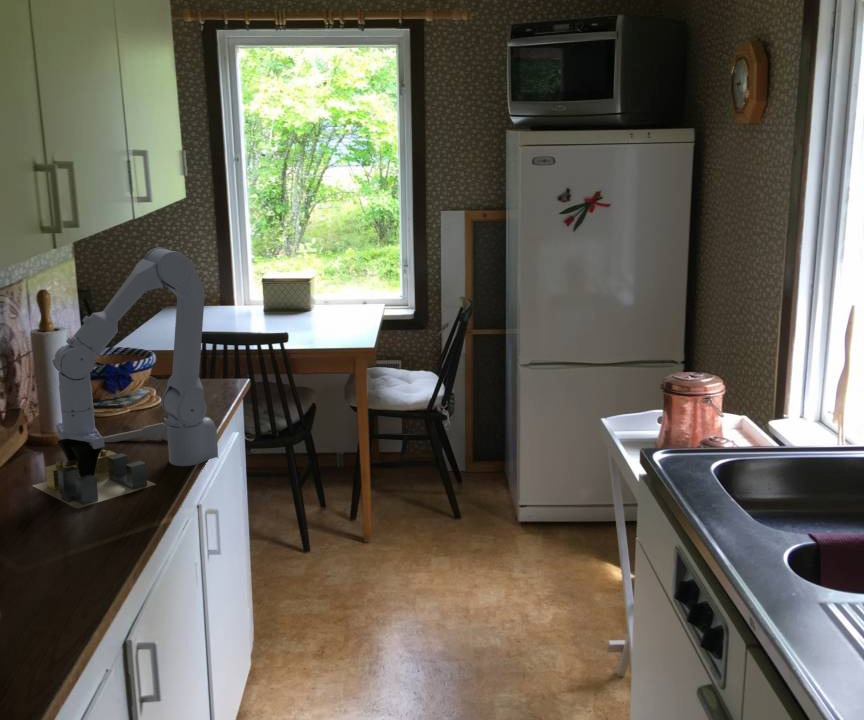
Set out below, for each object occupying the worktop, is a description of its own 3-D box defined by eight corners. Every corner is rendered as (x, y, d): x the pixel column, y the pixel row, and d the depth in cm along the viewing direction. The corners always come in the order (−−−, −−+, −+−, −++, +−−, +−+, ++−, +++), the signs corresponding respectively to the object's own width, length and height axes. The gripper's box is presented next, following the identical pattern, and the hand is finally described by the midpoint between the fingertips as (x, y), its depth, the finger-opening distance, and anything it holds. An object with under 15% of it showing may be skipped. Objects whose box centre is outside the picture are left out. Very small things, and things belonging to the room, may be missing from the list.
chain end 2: (128, 473, 178) (127, 451, 177) (152, 483, 173) (151, 461, 172) (109, 479, 175) (107, 457, 174) (133, 489, 170) (131, 467, 169)
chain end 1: (74, 489, 170) (72, 466, 169) (98, 500, 165) (96, 477, 164) (53, 495, 167) (51, 472, 166) (76, 507, 162) (74, 483, 160)
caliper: (178, 443, 200) (176, 415, 199) (177, 444, 199) (176, 417, 198) (82, 446, 198) (80, 418, 196) (81, 447, 197) (79, 420, 195)
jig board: (109, 467, 184) (109, 464, 183) (156, 488, 173) (156, 484, 173) (32, 489, 172) (31, 485, 172) (77, 512, 161) (77, 508, 161)
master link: (110, 469, 180) (108, 446, 179) (118, 473, 178) (116, 449, 177) (47, 487, 171) (44, 463, 170) (54, 491, 169) (52, 466, 168)
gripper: (38, 405, 173) (45, 472, 176) (76, 420, 164) (82, 490, 167) (73, 398, 178) (79, 463, 181) (112, 412, 169) (117, 480, 172)
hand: (83, 476), depth 175 cm, fingers closed on master link, 3 cm apart
